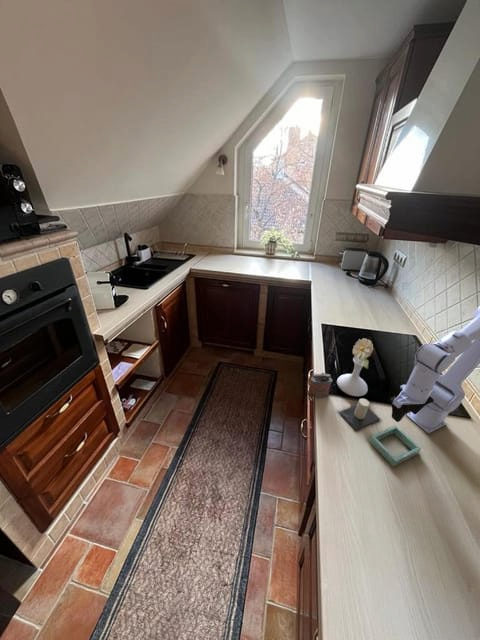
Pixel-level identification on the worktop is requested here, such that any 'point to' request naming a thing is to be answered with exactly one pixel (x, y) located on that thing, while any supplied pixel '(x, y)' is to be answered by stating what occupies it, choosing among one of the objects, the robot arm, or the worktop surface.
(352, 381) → the flower in vase
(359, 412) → the shaving stick
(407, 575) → the worktop surface
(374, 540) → the worktop surface
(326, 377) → the lighter
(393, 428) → the green rectangular frame
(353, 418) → the slate mat
